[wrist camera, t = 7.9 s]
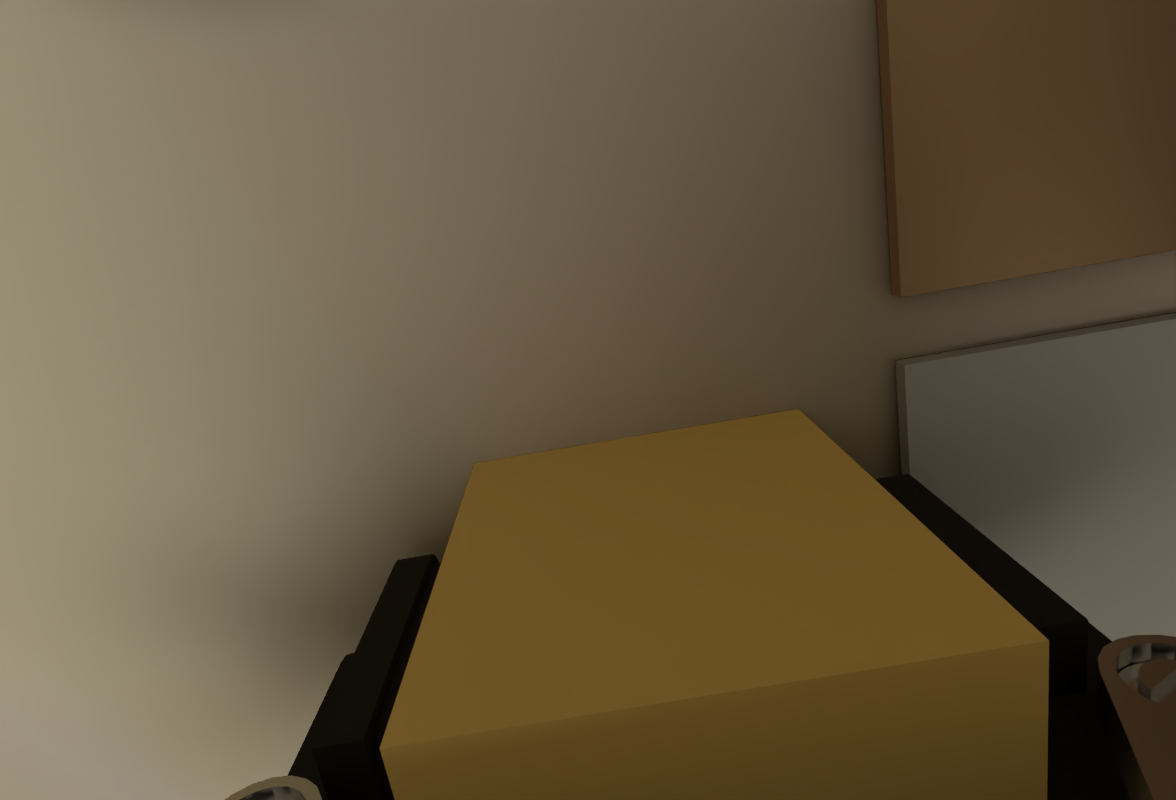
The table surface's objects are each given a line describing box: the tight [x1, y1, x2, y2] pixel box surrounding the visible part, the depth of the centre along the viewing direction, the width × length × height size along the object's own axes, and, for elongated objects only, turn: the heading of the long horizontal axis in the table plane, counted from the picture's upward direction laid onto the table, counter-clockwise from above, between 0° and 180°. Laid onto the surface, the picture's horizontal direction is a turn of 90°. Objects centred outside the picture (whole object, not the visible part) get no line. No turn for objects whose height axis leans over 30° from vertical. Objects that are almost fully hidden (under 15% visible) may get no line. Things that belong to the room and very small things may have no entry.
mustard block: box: [380, 409, 1049, 800], centre depth 9 cm, size 5×5×6 cm
